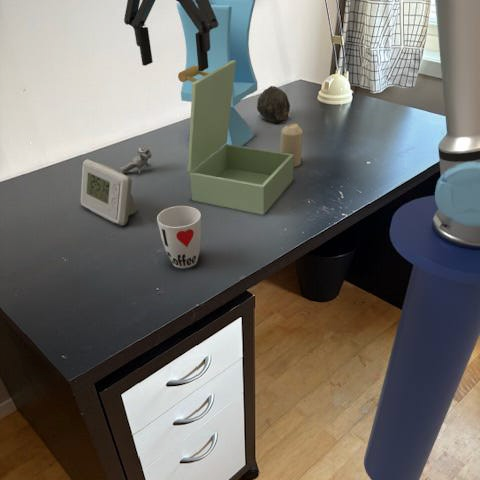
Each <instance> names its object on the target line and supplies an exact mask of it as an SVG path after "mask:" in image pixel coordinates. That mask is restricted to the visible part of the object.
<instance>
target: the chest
mask: <svg viewBox="0 0 480 480" xmlns="http://www.w3.org/2000/svg"><path fill="white" fill-rule="evenodd" d="M293 163H294V154H287V153H281V151H274V150H268V149H260V148H254V147H249V146H248V147H247V146H235V145H229V144H225V145H224V146H223V147H221V148H220V149H219V150H218V151H216V152H214V153H213V154H212V155H211V156H210V157H208V158H207V159H206V160H205V161H203V162H202V163H201V164H200V165H198V166H197V167H196V168H195V169H193V170H192V171H191V172H189V183H190V191H191V200H192V201H194V202H199V203H203V204H208V205H213V206H218V207H223V208H228V209H233V210H238V211H243V212H247V213H252V214H256V215H262V216H264V215H265V214H266V213H267V211H269V209H270V208H271V207H272V206H273V205H274V204H275V202H276V201H277V200H278V199H279V197H281V195H282V194H283V193H284V192H285V190H286V189H287V188H288V187H289V186H290V185H291V184H292V182H293V181H294V167H293Z"/></svg>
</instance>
